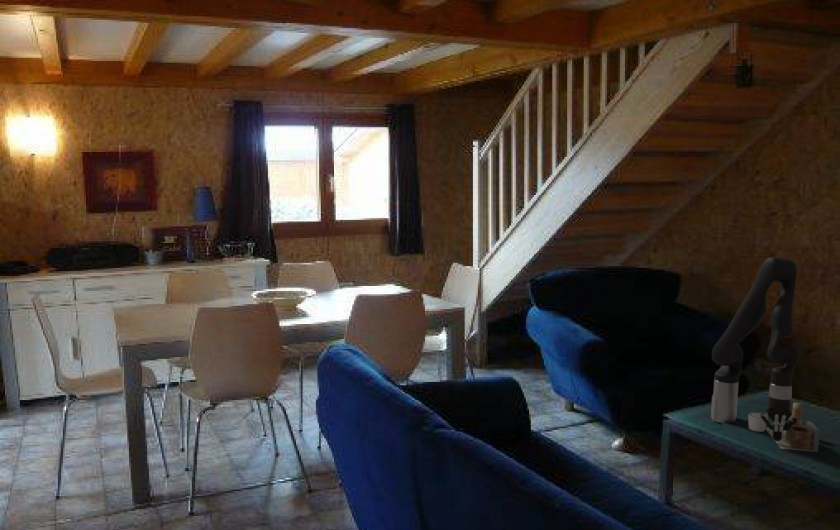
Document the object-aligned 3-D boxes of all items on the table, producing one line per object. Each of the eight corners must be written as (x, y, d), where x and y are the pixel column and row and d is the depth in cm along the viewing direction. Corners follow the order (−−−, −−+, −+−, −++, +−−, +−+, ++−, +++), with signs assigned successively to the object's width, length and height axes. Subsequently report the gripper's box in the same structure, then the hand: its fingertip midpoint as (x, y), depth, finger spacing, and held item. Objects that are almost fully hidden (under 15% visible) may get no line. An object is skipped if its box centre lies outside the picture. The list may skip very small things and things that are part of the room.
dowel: (792, 434, 268) (794, 404, 266) (789, 431, 271) (792, 402, 270) (801, 435, 267) (803, 405, 266) (798, 432, 270) (801, 403, 269)
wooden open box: (791, 447, 254) (793, 432, 253) (785, 439, 262) (786, 424, 261) (812, 449, 252) (813, 433, 252) (805, 441, 260) (806, 426, 259)
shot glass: (765, 436, 269) (766, 419, 269) (745, 432, 273) (747, 415, 272) (766, 431, 275) (768, 414, 274) (748, 427, 279) (749, 410, 278)
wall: (813, 451, 252) (815, 430, 251) (804, 441, 261) (806, 420, 260) (818, 451, 251) (819, 430, 250) (809, 441, 261) (810, 421, 260)
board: (780, 451, 254) (780, 448, 254) (763, 429, 276) (764, 427, 276) (817, 454, 251) (818, 451, 251) (797, 432, 274) (798, 429, 273)
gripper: (763, 397, 254) (760, 442, 257) (802, 400, 252) (799, 445, 254) (758, 391, 262) (755, 435, 264) (796, 394, 259) (792, 438, 261)
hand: (776, 440), depth 259 cm, fingers closed
